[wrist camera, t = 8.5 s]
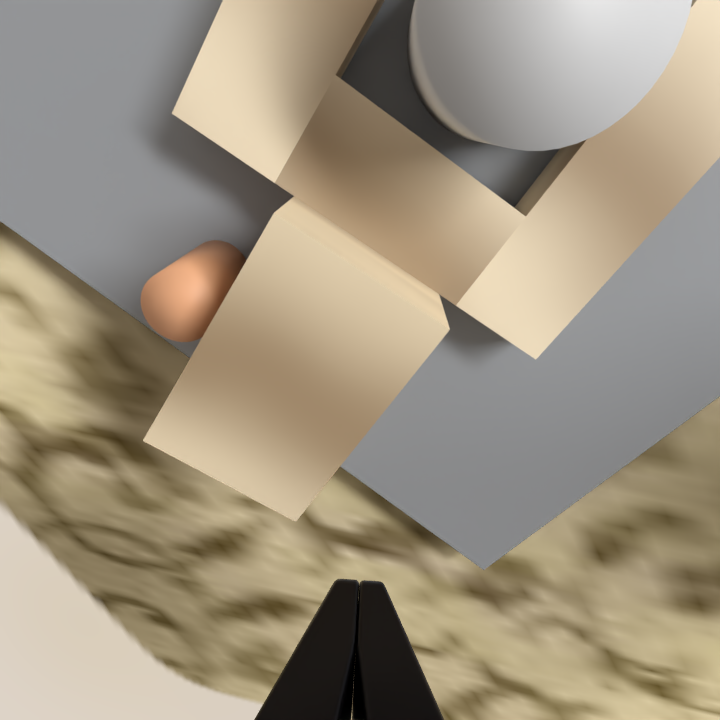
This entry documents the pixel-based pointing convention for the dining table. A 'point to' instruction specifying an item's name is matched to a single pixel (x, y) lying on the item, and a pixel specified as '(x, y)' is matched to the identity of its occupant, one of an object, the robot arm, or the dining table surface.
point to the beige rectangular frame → (393, 239)
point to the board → (466, 335)
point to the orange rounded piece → (191, 290)
